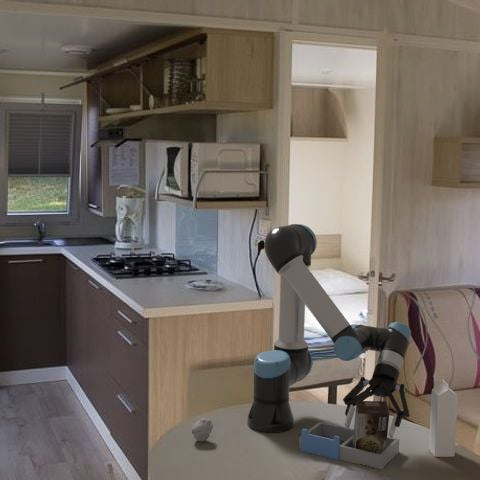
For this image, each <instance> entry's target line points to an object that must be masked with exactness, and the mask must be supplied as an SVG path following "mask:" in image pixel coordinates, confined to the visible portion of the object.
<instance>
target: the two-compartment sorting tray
mask: <svg viewBox="0 0 480 480" xmlns="http://www.w3.org/2000/svg"><path fill="white" fill-rule="evenodd" d="M353 435H354V428H350V427H349V429H348V428H346V426H341V425H337V424H332V423H327V422H323V421H319V422H318V423H316V424H315V425H314V426H312V427H310V428H309V429H308V428H301V435H299V437H298V438H299V439H298V441H299V442H298V450H299V451H300V452H304V453H309V454H313V455H316V456H320V457H324V458H329V459H332V460H337V461H339V460H341V461H345V462H349V463H353V464H356V465H360V464H363V465H362V466H364V465H367V466H366V467H368V466H371V467H370V468H372V467H374V468H373V469H377V468H378V469H377V470H381V469H382V468H383V467H384V466H385V465H386V464H387V463H388V462H389V461H390V460H391V459H392V460H393V459H394V458H395V456H396V455H398V454H399V453H400V440H401V439H400V438H397V437H396V438H395V437H393V438H390V436H387V444H386V449H385V450H384V451H383V452H382V453H381V454H377V453H373V452H368V451H364V450H360V449H356V448H353ZM340 441H344V442H343V443H341V442H340ZM340 443H341V444H340ZM390 462H391V461H390ZM390 462H389V463H390ZM357 463H358V464H357ZM389 463H388V464H389ZM388 464H387V465H388ZM387 465H386V466H387ZM386 466H385V467H386ZM385 467H384V468H385ZM384 468H383V469H384ZM383 469H382V470H383Z"/></svg>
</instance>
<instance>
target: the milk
mask: <svg viewBox="0 0 480 480" xmlns="http://www.w3.org/2000/svg"><path fill="white" fill-rule="evenodd" d="M458 396H459V395H458V394H457V393H456V392H455V391H454V390H453V389H451V387H449V384H448V383H447V382H446V381H445V380H444V379H441V383H440V384H439V385H437V386H435V387H434V388H432V389H431V398H430V399H431V402H430V417H429V419H430V420H429V441H428V450H429V451H430V452H431V454H432V455H433V457H435V458H438V457H439V458H443V457H444V458H446V457H449V458H450V457H451V458H452V457H453V458H454V457H455V455H456V454H455V451H456V434H457V416H458V415H457V414H458V398H459V397H458Z"/></svg>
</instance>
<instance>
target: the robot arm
mask: <svg viewBox="0 0 480 480" xmlns="http://www.w3.org/2000/svg"><path fill="white" fill-rule="evenodd" d="M263 245H264V252H265V256H266V257H267V260H268V262H269V263H270V265H271V266H272V268H273V269H274V270H275V271H276V273H277V274H278V276H279V275H280V278H279V279H280V283H279V314H278V315H279V316H278V317H279V318H278V338H277V339H276V340H275V341H274V342H273V350H272V349H270V350H266V351H265V350H264V351H262V352H260V353H258V354H257V355H256V356H255V358H254V363H253V364H254V365H253V397H252V398H253V401H252V403H251V406H250V409H249V412H248V415H247V426H248V427H249V428H250V429H252V430H255V431H258V432H263V433H282V432H286V431H289V430H291V429H292V428H293V427H294V424H295V423H294V422H295V420H294V415H293V411H292V408H291V405H290V404H291V403H290V387H291V386H293V385H294V384H297V382H300V381H302V380H304V379H305V378H306V377H307V376H308V375H309V374H310V373H311V371H312V368H313V364H314V361H313V360H314V359H313V356H312V353H311V352H310V350H309V344H308V342H307V340H305V322H306V321H305V319H306V317H305V316H306V315H305V313H306V308H307V309H308V311H310V313H311V315H312V316H313V317H314V318H315V320H316V321H317V323H319V325H320V326H321V328H322V329H323V330H324V332H325V333H326V334H327V336H328V337H329V338H330V340H331V341H332V343H333V351H334V354H335V356H336V357H337V358H338V359H339V360H341V361H344V362H349V361H352V360H355V359H357V358H359V357H360V356H361V355H363V354H364V353H366V352H368V351H372V352H378V353H379V354H378V356H377V357H378V358H377V361H376V364H375V366H374V370H373V373H372V375H371V378H370V379H368V378H365V376H361V377H360V379H359V382H358V383H356V385H355V386H354V387H353V388H352V389H351V390H350V391H348V393H347V394H346V395H345V396H344V397H343V399H342V401H343V403H344V405H346V408H345V412H344V415H345V417H346V418H345V420H344V423H343V424H344V427H346V428H348V429H349V428H350V426H351V423H352V421H353V417H354V416H355V411H356V401H366V399H368V398H370V397H372V396H375V397H381V398H384V399H385V398H389V400H390V402H391V404H392V407H393V408H394V411H395V412H396V413H393V418H392V421H391V424H390V428H389V429H388V437H390V438H394V436H395V431H396V429H397V428H400V426H401V424H402V420H403V418H409V417H410V416H411V415H410V411H409V406H408V402H407V398H406V392H407V391H406V389H407V388H406V386H405V384H404V383H400V385H399V384H397V383H398V380H399V377H400V373H401V369H402V366H403V363H404V359H405V357H406V353H407V351H408V347H409V344H410V339H411V336H412V331H411V328H410V327H409V326H408V325H407V324H405V323H402V322H400V321H395V322H390V323H389V324H388V326H387V328H386V327H383V328H382V327H377V326H376V327H375V326H369V325H364V324H357V323H353V324H351V323H350V322H349V321H348V320H347V318H346V317H345V316H344V314H343V313H342V312H341V310H340V309H339V307H338V306H337V305H336V304H335V301H333V299H332V298H331V297H330V296H329V294H328V293H327V292H326V290H325V289H324V288H323V286H322V285H321V284H320V283H319V281H318V279H316V277H315V276H314V275H313V273H312V272H311V271H310V269H309V268H310V267H311V266H312V255H313V254H314V253H315V251H316V248H317V245H318V240H317V237H316V234H315V232H314V231H313V230H312V229H311V228H310V227H309V226H307V225H306V224H305V225H304V224H301V223H300V224H299V223H292V224H288V225H282V226H281V225H280V226H277V227H275V228H273V229H271V230H270V231H269V232H268V233H267V235H266V236H265V239H264V244H263ZM364 388H366V389H365V390H364ZM396 391H397V393H399V397H400V400H401V404H402V405H401V406H402V409H403V410H401V409H400V406H399V405H398V402H397V401H396V399H395V397H394V394H393V393H394V392H396Z"/></svg>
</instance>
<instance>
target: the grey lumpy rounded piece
mask: <svg viewBox="0 0 480 480" xmlns="http://www.w3.org/2000/svg"><path fill="white" fill-rule="evenodd" d="M213 423H214V422H213V421H212V420H210V419H208V418H207V417H201V418H200V419H199V420H197V421H196V422H195V423H194V424H193V426H192V428H191V433H192V434H193V438H194V439H195V440H196V441H197V442H199V443H200V442H203V443H204V442H206V441H207V440H208V439H209V438H210V435H211V433H212V431H213V427H214V424H213Z"/></svg>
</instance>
